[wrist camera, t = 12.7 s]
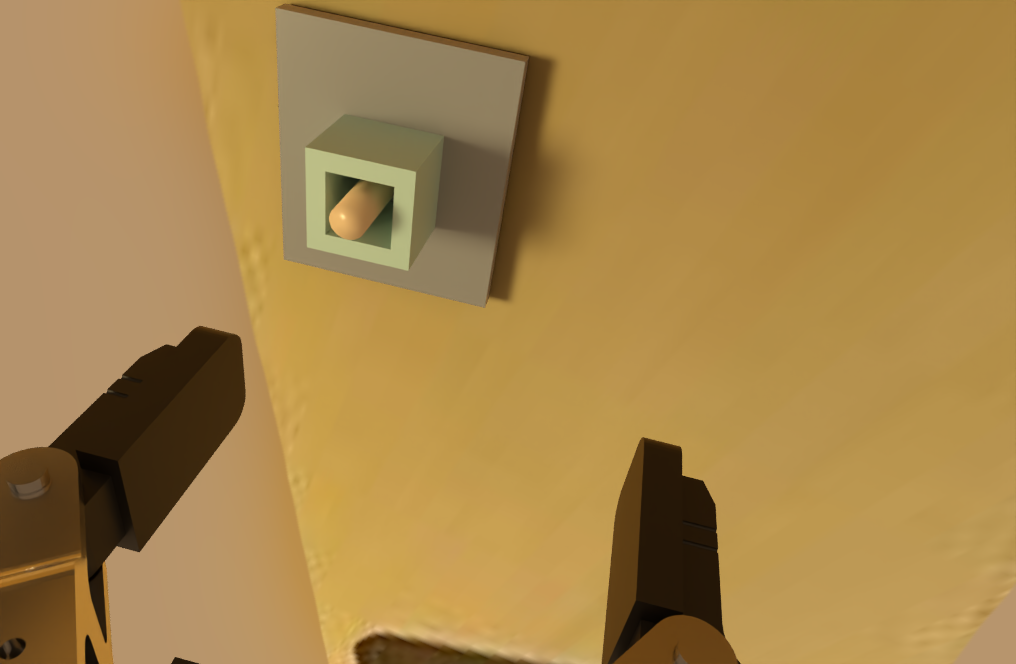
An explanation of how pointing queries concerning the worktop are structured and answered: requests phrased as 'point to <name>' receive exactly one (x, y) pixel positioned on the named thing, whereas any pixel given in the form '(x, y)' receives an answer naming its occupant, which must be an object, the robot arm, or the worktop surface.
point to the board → (407, 103)
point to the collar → (381, 159)
